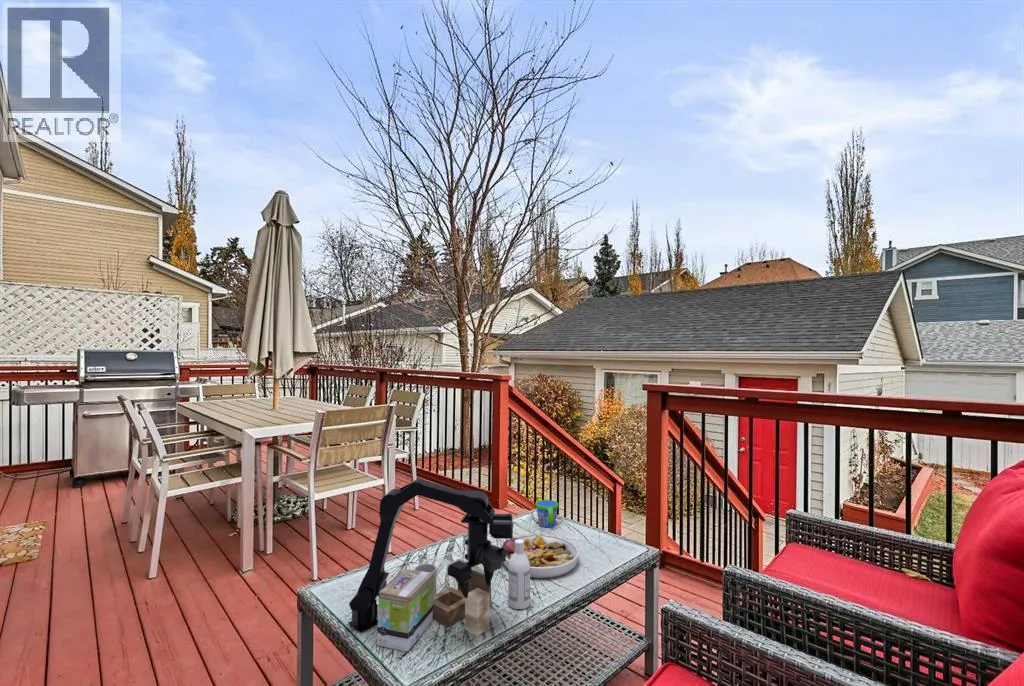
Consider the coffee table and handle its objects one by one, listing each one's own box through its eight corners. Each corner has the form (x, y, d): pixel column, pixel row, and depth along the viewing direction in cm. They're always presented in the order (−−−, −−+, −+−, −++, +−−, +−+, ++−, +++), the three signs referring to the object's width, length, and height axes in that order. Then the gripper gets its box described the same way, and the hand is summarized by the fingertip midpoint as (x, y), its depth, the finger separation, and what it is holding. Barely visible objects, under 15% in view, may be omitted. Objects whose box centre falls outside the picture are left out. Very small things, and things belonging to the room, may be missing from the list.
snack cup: (534, 519, 222) (534, 498, 222) (555, 518, 222) (555, 497, 222) (537, 531, 206) (537, 508, 206) (560, 531, 207) (560, 508, 207)
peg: (477, 636, 130) (477, 600, 130) (465, 629, 133) (465, 594, 133) (489, 628, 133) (489, 593, 134) (477, 621, 137) (477, 587, 137)
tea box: (409, 653, 122) (409, 597, 123) (376, 646, 125) (376, 591, 125) (433, 621, 137) (434, 571, 137) (403, 616, 140) (404, 567, 140)
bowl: (576, 548, 189) (576, 529, 190) (580, 584, 160) (580, 561, 160) (504, 545, 192) (504, 526, 193) (495, 580, 163) (495, 557, 163)
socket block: (453, 630, 132) (454, 592, 132) (420, 611, 142) (420, 576, 142) (492, 607, 145) (492, 572, 145) (459, 591, 154) (459, 558, 154)
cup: (420, 604, 146) (420, 576, 146) (406, 591, 154) (407, 564, 154) (440, 597, 150) (440, 569, 150) (426, 585, 158) (426, 558, 158)
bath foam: (528, 598, 150) (528, 536, 150) (531, 609, 143) (531, 545, 144) (507, 599, 149) (507, 537, 150) (509, 610, 142) (509, 545, 143)
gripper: (474, 555, 121) (474, 615, 121) (519, 534, 136) (518, 588, 135) (446, 544, 129) (445, 600, 128) (491, 525, 143) (491, 576, 143)
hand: (477, 591), depth 133 cm, fingers open, 9 cm apart
